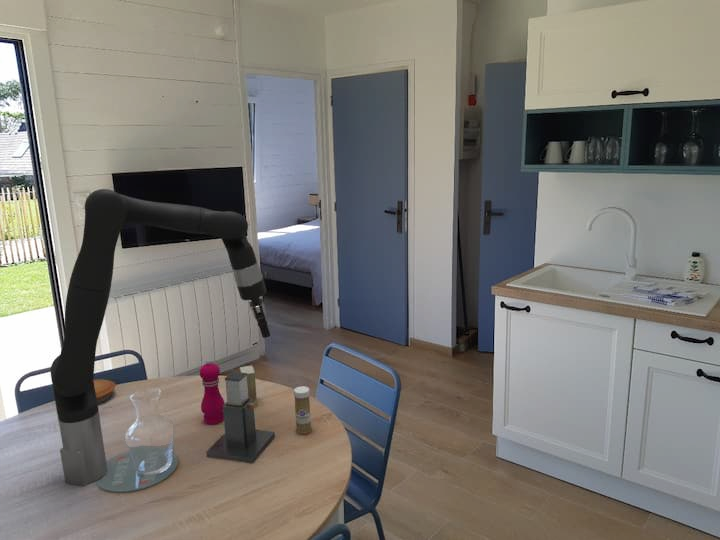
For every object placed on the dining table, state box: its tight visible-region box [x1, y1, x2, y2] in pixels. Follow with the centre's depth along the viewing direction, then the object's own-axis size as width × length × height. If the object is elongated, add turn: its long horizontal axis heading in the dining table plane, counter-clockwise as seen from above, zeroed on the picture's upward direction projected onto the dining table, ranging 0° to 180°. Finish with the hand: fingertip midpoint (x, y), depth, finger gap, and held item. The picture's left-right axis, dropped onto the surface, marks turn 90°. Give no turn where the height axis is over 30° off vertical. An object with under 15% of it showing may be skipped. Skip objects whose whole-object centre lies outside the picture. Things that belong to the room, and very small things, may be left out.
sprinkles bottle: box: [293, 386, 312, 435], centre depth 159 cm, size 5×5×14 cm
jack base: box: [205, 398, 276, 464], centre depth 152 cm, size 14×14×14 cm
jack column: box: [224, 371, 249, 408], centre depth 151 cm, size 4×4×20 cm
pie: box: [93, 379, 117, 405], centre depth 185 cm, size 15×16×5 cm
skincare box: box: [239, 365, 258, 408], centre depth 177 cm, size 6×4×12 cm
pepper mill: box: [199, 358, 226, 425], centre depth 167 cm, size 7×7×20 cm
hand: (265, 331), depth 158 cm, fingers open, 8 cm apart
